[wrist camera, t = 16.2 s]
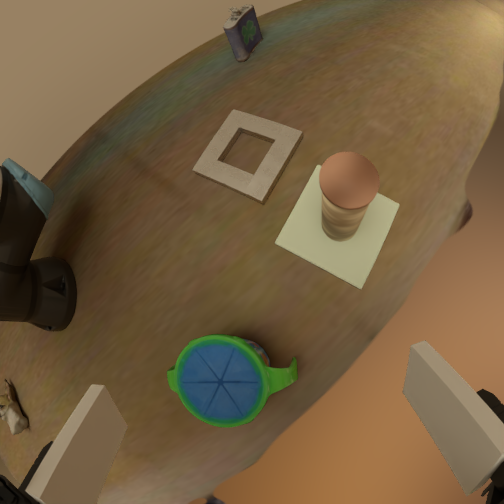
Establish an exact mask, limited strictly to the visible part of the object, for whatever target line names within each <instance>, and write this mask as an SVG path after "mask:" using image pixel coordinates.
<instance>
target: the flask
mask: <svg viewBox="0 0 504 504" xmlns="http://www.w3.org/2000/svg"><path fill="white" fill-rule="evenodd" d="M232 8H233V7H231V8H230V9H229V10H231V9H232ZM223 28H224V30H225V33H226V35H227V37H228V40H229V42H230V45H231V47H232V50H233V53H234V55H235V58H236V60H237V61H238V62H244V61H245V60H247V59H248V58H249V57H250V54H251V53H252V52H253V51H254V50H255V47H256V46H257V45H258V43H260V42H261V41H262V40H263V38H262V35H261V32H260V28H259V24H258V21H257V17H256V13H255V10H254V7H253V6H252V5H244V6H242V7H241V8H240V9H237V8H236V7H234V8H233V9H232V15H231V17H230V18H229V19H228V20H227V22H226V23H225V25H224V27H223Z"/></svg>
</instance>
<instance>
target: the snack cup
mask: <svg viewBox="0 0 504 504" xmlns="http://www.w3.org/2000/svg"><path fill="white" fill-rule="evenodd" d="M167 378H168V383H169V386H170V388H171V389H172V390H173V391H175V392H177V393H178V395H179V398H180V400H181V401H182V403H183V404H184V406H185V407H186V408H187V409H188V410H189V412H190V413H191V414H193V415H194V416H195V417H197V418H198V419H200V420H201V421H203V422H205V423H207V424H210V425H213V426H217V427H235V426H240V425H242V424H247V423H249V422H251V421H253V419H254V418H255V417H256V416H257V415H258V414H259V412H260V411H261V410H262V408H263V407H264V405H265V403H266V401H267V398H268V397H269V396H270V395H271V394H273V393H275V392H277V391H279V390H281V389H283V388H286V387H287V386H289V385H291V384H292V383H293V382H295V381H296V380H297V379H298V373H297V362H296V358H295V357H293V359H292V363H291V365H290V366H289V368H272V367H270V361H269V358H268V356H267V354H266V352H265V351H264V350H263V348H261V347H260V346H259V345H258V344H257V343H255V342H253V341H251V340H247V339H241V338H239V337H237V336H230V335H225V334H212V335H207V336H203V337H201V338H198V339H193V340H192V341H190V342H189V343H188V345H187V346H186V347H185V348H184V349H183V351H182V352H181V353H180V355H179V357H178V359H177V362H176V364H175V365H174V366H173V367H171V368H170V369H169V370H168V371H167Z"/></svg>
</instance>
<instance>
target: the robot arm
mask: <svg viewBox="0 0 504 504" xmlns="http://www.w3.org/2000/svg"><path fill="white" fill-rule="evenodd" d="M53 202H54V194H53V192H52V190H51V189H50V188H48V187H47V186H46V185H45V184H43V183H42V182H41V181H40V180H38V179H37V178H36V177H34V176H33V175H32V174H30V173H29V172H28V171H26V170H25V169H24V168H23V167H21V166H20V165H18V164H17V163H16V162H14V161H13V160H11V159H10V158H8V159H6V160H5V161H4V162H3V163H2V167H1V166H0V321H15V322H28V323H30V324H33V325H35V326H37V327H39V328H42V329H44V330H47V331H61V330H63V329H65V328H66V327H67V326H68V324H69V323H70V321H71V319H72V317H73V314H74V310H75V305H76V284H75V279H74V275H73V272H72V270H71V268H70V266H69V265H68V263H67V262H66V261H64V260H63V259H60V258H56V257H46V258H41V259H36V260H31V261H30V259H31V256H32V253H33V251H34V248H35V246H36V243H37V241H38V238H39V236H40V234H41V231H42V229H43V227H44V224H45V222H46V220H47V219H48V214H49V212H50V209H51V207H52V205H53ZM403 394H404V395H405V397H406V398H407V400H408V401H409V403H410V404H411V406H412V407H413V409H414V410H415V412H416V413H417V415H418V416H419V418H420V419H421V421H422V423H423V424H424V426H425V427H426V429H427V431H428V432H429V434H430V435H431V437H432V439H433V440H434V442H435V443H436V445H437V447H438V448H439V450H440V452H441V453H442V455H443V456H444V458H445V460H446V461H447V463H448V465H449V466H450V468H451V470H452V471H453V473H454V475H455V477H456V478H457V480H458V482H459V483H460V485H461V487H462V489H463V491H464V492H465V494H466V496H468V495H469V494H471V493H473V492H474V491H476V490H477V489H479V488H480V487H481V486H483V485H484V484H485V483H486V482H487V480H488V479H489V478H491V480H492V482H491V483H490V485H489V486H488V487H487V488H486V489H485V490H484V491H483V493H482V495H481V496H484V495H485V494H486V493H487V492H488V491H489V493H488V495H487V496H488V497H487V501H486V504H504V405H503V404H501V402H500V401H499V400H498V398H497V397H496V396H495V395H494V394H492V393H490V392H488V391H486V390H484V389H482V390H480V391H478V392H475V391H474V390H473V389H472V388H471V387H470V386H469V385H468V383H467V382H466V381H465V380H464V379H463V378H462V377H461V376H460V375H459V374H458V373H457V372H456V371H455V370H454V369H453V368H452V367H451V366H450V365H449V364H448V363H447V362H446V360H445V359H444V358H443V357H442V356H441V355H440V354H439V353H438V352H436V350H434V348H433V347H432V346H431V345H429V343H427V341H422V342H419V343H416V344H413V345H411V348H410V355H409V362H408V367H407V373H406V378H405V383H404V388H403ZM127 428H128V426H127V424H126V423H125V421H124V419H123V418H122V416H121V414H120V412H119V411H118V409H117V407H116V405H115V404H114V402H113V400H112V398H111V396H110V394H109V393H108V391H107V389H106V387H105V385H94V384H92V385H91V386H90V388H89V389H88V390H87V392H86V393H85V395H84V396H83V398H82V399H81V401H80V402H79V404H78V405H77V407H76V408H75V410H74V411H73V413H72V414H71V416H70V417H69V419H68V420H67V422H66V424H65V425H64V427H63V428H62V430H61V431H60V433H59V434H58V436H57V438H56V439H55V441H54V442H53V441H51V442H50V443H48V444H47V445H46V446H45V447H44V448H43V449H42V451H41V452H40V454H39V455H38V458H37V459H36V460H35V462H34V464H33V465H32V467H31V469H30V470H29V472H28V474H27V475H26V477H25V479H24V480H23V482H22V484H21V486H20V487H19V488H18V489H17V488H16V487H15V486H14V485H13V484H12V483H11V482H10V481H9V480H8V479H7V478H6V477H5V476H3V475H0V504H96V503H97V501H98V498H99V496H100V493H101V490H102V488H103V485H104V483H105V480H106V478H107V475H108V473H109V470H110V468H111V466H112V463H113V461H114V458H115V456H116V453H117V451H118V449H119V446H120V444H121V442H122V439H123V437H124V435H125V432H126V430H127Z"/></svg>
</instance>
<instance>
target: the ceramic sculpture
mask: <svg viewBox="0 0 504 504" xmlns="http://www.w3.org/2000/svg"><path fill="white" fill-rule="evenodd" d="M5 384H6V385H5V391H6V394H5V395H2V396H0V418H1V419H2V420H4V421H7V422H8V424H9V426H10V429H11V432H12V434H13V435H15V434H19V433H21V432H22V431H23V430H24V429H25V428H26V427H27V426H28V420H27V418H25V417H24V416H23V415H22V413H21V411H20V407H19V405H18V403H17V401H16V398H15V394H14V391H13V389H12V387H11V386H10V384H9V383H8V382H7V380H6V379H5Z"/></svg>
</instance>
